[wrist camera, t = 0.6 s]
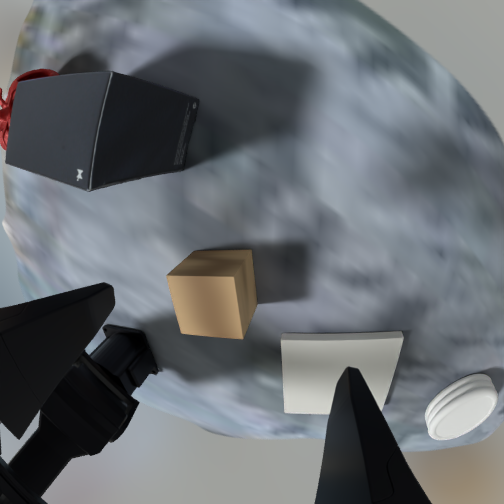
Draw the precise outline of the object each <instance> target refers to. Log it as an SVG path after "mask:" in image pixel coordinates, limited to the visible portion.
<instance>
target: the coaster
mask: <svg viewBox="0 0 504 504" xmlns="http://www.w3.org/2000/svg"><path fill="white" fill-rule="evenodd" d="M497 401H498V393H497V391H496V390H495V387H494V385H493V383H492V380H491V378H490V377H489V376H487V375H485V374H473V375H469V376H466V377H464V378H461V379H459V380H457V381H455V382H454V383H452V384H450V385H449V386H447V387H446V388H445V389H443V390H442V391H441V392H440V393H439V394H437V395H436V397H435V398H434V399H433V400H432V401H431V402H430V404H429V405H428V407H427V409H426V413H425V419H426V422H427V427H428V433H429V435H430V436H431V437H432V438H433V439H436V440H449V439H453V438H456V437H459V436H461V435H463V434H465V433H467V432H469V431H471V430H473V429H474V428H476V427H477V426H478V425H480V424H481V423H482V422H483V421H484V420H485V419H486V418H487V417H488V416H489V415H490V414H491V413H492V411H493V410H494V408H495V406H496V404H497Z"/></svg>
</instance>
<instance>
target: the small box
mask: <svg viewBox="0 0 504 504" xmlns="http://www.w3.org/2000/svg"><path fill="white" fill-rule="evenodd" d="M198 104H199V99H197V98H194V97H192V96H189V95H187V94H184V93H181V92H178V91H176V90H173V89H170V88H167V87H164V86H161V85H158V84H154V83H151V82H148V81H145V80H142V79H138V78H135V77H131V76H128V75H124V74H120V73H116V72H113V71H97V72H84V73H73V74H64V75H57V76H49V77H43V78H36V79H31V80H25V81H20V82H18V84H17V88H16V92H15V97H14V102H13V107H12V113H11V119H10V126H9V133H8V140H7V149H6V160H5V163H6V164H9V165H12V166H14V167H17V168H20V169H23V170H26V171H29V172H32V173H35V174H38V175H40V176H43V177H47V178H50V179H52V180H55V181H58V182H61V183H64V184H67V185H70V186H73V187H76V188H79V189H82V190H85V191H88V192H90V191H93V190H96V189H100V188H105V187H109V186H112V185H116V184H121V183H124V182H129V181H134V180H138V179H141V178H145V177H151V176H155V175H161V174H167V173H174V172H181V171H182V170H183V167H184V165H185V156H186V154H187V147H188V143H189V139H190V135H191V132H192V127H193V123H194V122H195V118H196V114H197V109H198Z"/></svg>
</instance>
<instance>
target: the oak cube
mask: <svg viewBox="0 0 504 504" xmlns="http://www.w3.org/2000/svg"><path fill="white" fill-rule="evenodd" d="M166 277H167V281H168V285H169V289H170V293H171V297H172V301H173V305H174V309H175V312H176V316H177V320H178V323H179V327H180V330H181V334H190V335H199V336H209V337H220V338H233V339H244V336H245V334H246V331H247V329H248V327H249V324H250V322H251V319H252V317H253V314H254V312H255V309H256V307H257V304H258V303H257V294H256V285H255V276H254V267H253V258H252V250H210V251H193V252H192V253H191V254H190V255H189V256H188V257H187V258H185V259H184V260H183V261H182V262H181V263H180V264H179V265H178V266H176V267H175V268H174V269H173V270H172V271H171V272H170V273H169V274H167V275H166Z"/></svg>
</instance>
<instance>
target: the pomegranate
mask: <svg viewBox="0 0 504 504" xmlns="http://www.w3.org/2000/svg"><path fill="white" fill-rule="evenodd" d="M57 75H59V74H58V73H57V72H55V71H53V70H50V69H38V70H32V71H29V72H26V73H24V74H22V75H20V76H19V77H17V78H16V79H15V80H14V81H13V83H12V84H11V86H10V88H9V92H8V96H7V98H6V101H4V100H3V99H2V89H1V88H0V105H1V107H2V109H1V110H0V144H1V146H2V148H3V149H4V150H6V149H7V140H8V133H9V126H10V119H11V113H12V107H13V102H14V97H15V92H16V88H17V84H18V82H20V81H25V80H31V79H36V78H43V77H49V76H57Z"/></svg>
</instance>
